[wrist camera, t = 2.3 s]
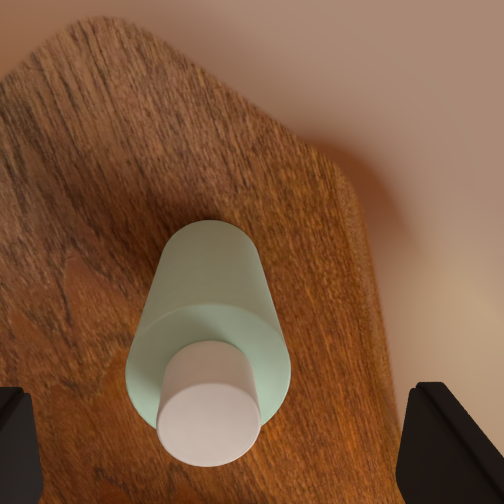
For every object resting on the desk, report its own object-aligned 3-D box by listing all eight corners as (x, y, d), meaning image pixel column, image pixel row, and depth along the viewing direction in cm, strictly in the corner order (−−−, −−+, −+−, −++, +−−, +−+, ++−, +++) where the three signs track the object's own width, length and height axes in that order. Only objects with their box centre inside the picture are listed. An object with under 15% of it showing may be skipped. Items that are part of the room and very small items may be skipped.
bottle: (161, 312, 22) (115, 505, 11) (158, 218, 20) (102, 342, 10) (257, 312, 22) (298, 497, 12) (261, 220, 21) (312, 339, 10)
